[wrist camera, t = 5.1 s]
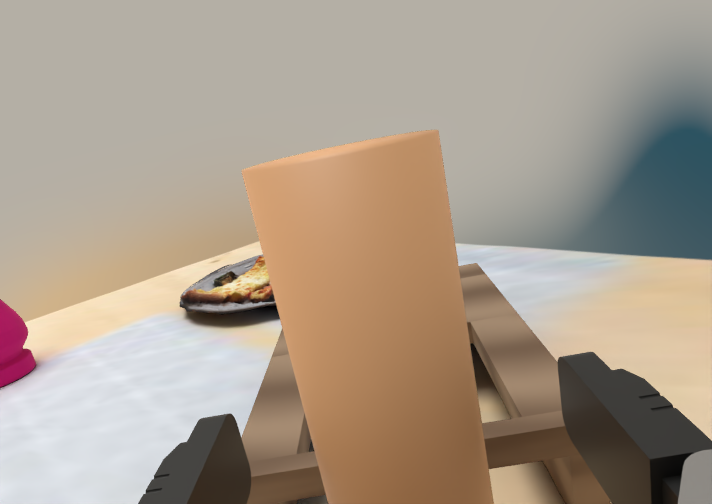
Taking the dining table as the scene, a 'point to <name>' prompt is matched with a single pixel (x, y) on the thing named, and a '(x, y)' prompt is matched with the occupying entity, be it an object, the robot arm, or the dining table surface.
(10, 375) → the pepper mill
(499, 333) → the keyhole base
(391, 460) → the peg
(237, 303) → the food plate
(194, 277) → the dining table surface
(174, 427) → the dining table surface
